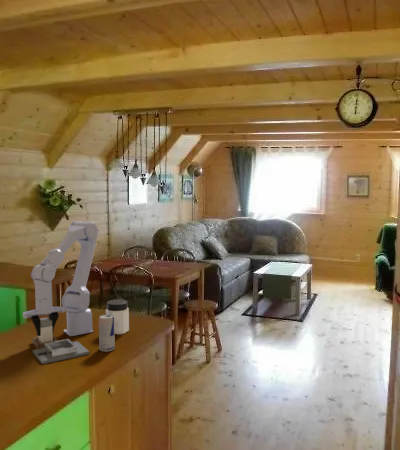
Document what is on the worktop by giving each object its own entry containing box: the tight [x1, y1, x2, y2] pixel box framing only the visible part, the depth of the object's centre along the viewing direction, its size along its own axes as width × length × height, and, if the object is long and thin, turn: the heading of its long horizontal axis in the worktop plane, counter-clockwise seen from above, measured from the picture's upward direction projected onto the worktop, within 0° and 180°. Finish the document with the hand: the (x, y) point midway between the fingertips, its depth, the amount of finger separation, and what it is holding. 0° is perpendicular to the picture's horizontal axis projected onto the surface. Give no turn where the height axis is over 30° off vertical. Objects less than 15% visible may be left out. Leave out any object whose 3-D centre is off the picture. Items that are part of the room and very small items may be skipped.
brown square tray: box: [31, 335, 59, 349], centre depth 170 cm, size 7×8×2 cm
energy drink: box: [98, 313, 116, 353], centre depth 165 cm, size 5×5×12 cm
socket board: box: [32, 338, 90, 365], centre depth 162 cm, size 16×12×3 cm
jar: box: [105, 298, 130, 336], centre depth 184 cm, size 9×8×12 cm
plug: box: [37, 316, 54, 343], centre depth 170 cm, size 4×5×9 cm
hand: (45, 334), depth 170 cm, fingers closed on plug, 4 cm apart
